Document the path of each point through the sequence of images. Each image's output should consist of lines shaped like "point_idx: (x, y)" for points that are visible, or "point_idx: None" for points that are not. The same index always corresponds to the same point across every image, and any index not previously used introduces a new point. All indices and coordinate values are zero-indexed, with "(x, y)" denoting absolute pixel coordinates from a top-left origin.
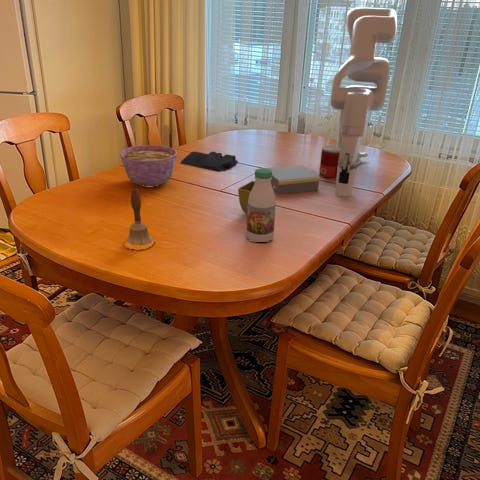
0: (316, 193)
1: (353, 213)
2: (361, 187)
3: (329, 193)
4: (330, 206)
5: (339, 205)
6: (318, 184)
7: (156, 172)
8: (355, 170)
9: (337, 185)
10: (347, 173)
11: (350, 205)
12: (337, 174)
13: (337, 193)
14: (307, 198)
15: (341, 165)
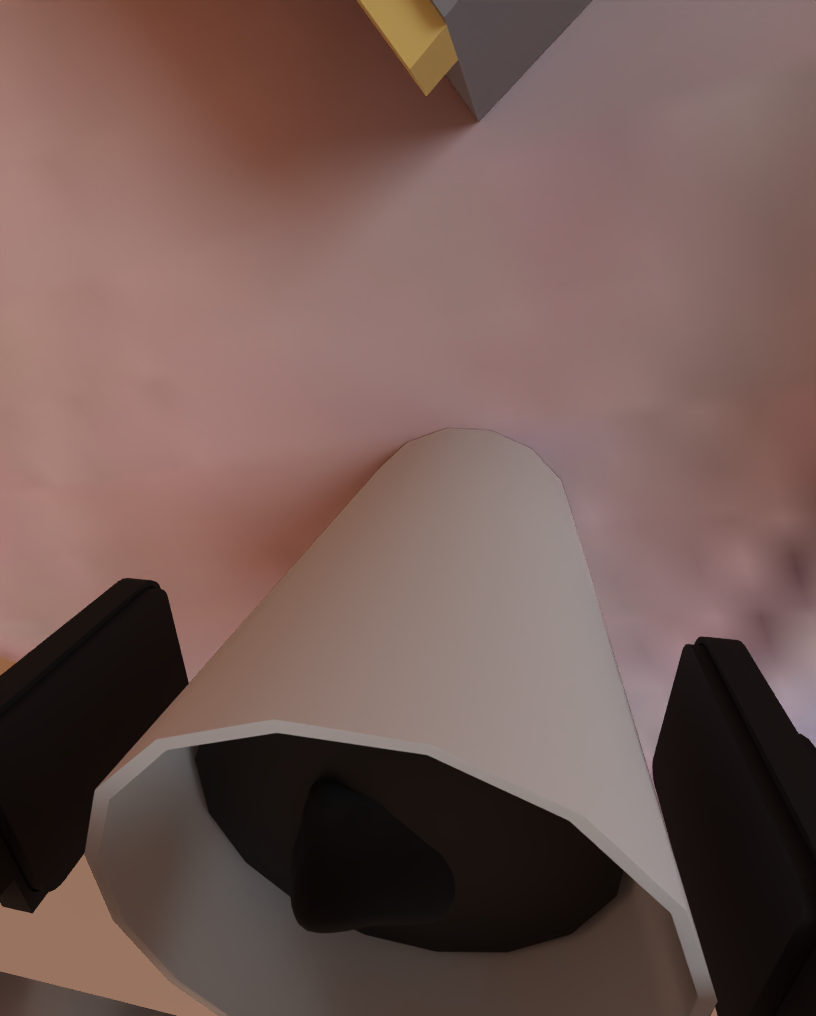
0: (300, 150)
1: (34, 632)
2: (795, 714)
3: (395, 353)
4: (24, 435)
5: (107, 516)
6: (464, 89)
7: None
8: (312, 1008)
9: (353, 501)
10: (7, 858)
11: (173, 609)
12: (307, 577)
13: (378, 470)
14: (37, 69)
15: (602, 805)
